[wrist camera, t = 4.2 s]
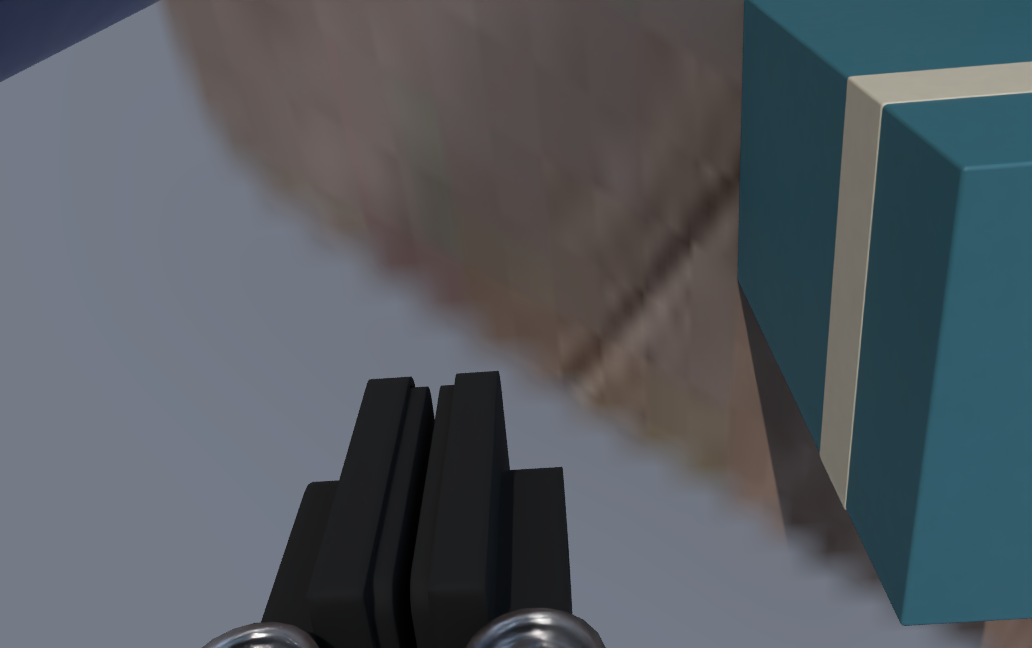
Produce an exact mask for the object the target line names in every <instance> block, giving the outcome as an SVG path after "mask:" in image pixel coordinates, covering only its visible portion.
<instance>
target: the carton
mask: <svg viewBox="0 0 1032 648" xmlns="http://www.w3.org/2000/svg"><path fill="white" fill-rule="evenodd" d="M738 281H739V283H740V285H741V288H742V290H743V292H744V294H745V296H746V298H747V300H748V302H749V304H750V307H751V309H752V311H753V313H754V315H755V317H756V319H757V321H758V323H759V326H760V328H761V330H762V332H763V334H764V336H765V338H766V340H767V342H768V344H769V347H770V349H771V351H772V353H773V355H774V357H775V359H776V361H777V363H778V366H779V368H780V370H781V372H782V374H783V376H784V378H785V380H786V382H787V385H788V387H789V389H790V391H791V393H792V395H793V397H794V399H795V401H796V404H797V406H798V408H799V410H800V412H801V414H802V416H803V418H804V420H805V423H806V425H807V427H808V429H809V431H810V433H811V435H812V437H813V439H814V442H815V444H816V446H817V448H818V450H819V452H820V458H821V460H822V463H823V465H824V467H825V469H826V471H827V473H828V475H829V477H830V479H831V482H832V484H833V486H834V488H835V490H836V492H837V494H838V496H839V499H840V501H841V503H842V505H843V507H844V509H845V510H847V511H848V513H849V515H850V518H851V520H852V522H853V524H854V526H855V528H856V530H857V532H858V534H859V537H860V539H861V541H862V543H863V545H864V547H865V549H866V551H867V553H868V556H869V558H870V560H871V562H872V564H873V566H874V568H875V570H876V572H877V575H878V577H879V579H880V581H881V583H882V585H883V587H884V589H885V591H886V594H887V596H888V598H889V600H890V602H891V604H892V606H893V608H894V610H895V613H896V615H897V617H898V619H899V621H900V623H901V624H902V625H904V626H909V625H926V624H943V623H960V622H977V621H994V620H1011V619H1028V618H1032V0H744V32H743V73H742V114H741V155H740V197H739V238H738Z"/></svg>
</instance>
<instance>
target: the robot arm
mask: <svg viewBox="0 0 1032 648" xmlns="http://www.w3.org/2000/svg"><path fill="white" fill-rule="evenodd" d="M564 493H565V492H564V480H563V468H562V467H555V468H539V469H521V470H510V467H509V458H508V448H507V439H506V429H505V420H504V410H503V400H502V391H501V382H500V375H499V371H490V372H475V373H460V374H456V378H455V385H445V386H441V387H440V391H439V398H438V404H437V411H436V417H435V419H434V413H433V405H432V398H431V393H430V389H429V387H415V384H414V381H413V378H412V377H400V378H384V379H371V380H369V381H368V383H367V386H366V389H365V393H364V396H363V400H362V403H361V407H360V410H359V414H358V417H357V421H356V424H355V427H354V431H353V435H352V438H351V442H350V445H349V449H348V452H347V455H346V459H345V462H344V466H343V469H342V473H341V476H340V480H339V481H324V482H312V483H310V484H309V485H308V486H307V488H306V490H305V492H304V495H303V498H302V501H301V504H300V508H299V510H298V513H297V516H296V519H295V523H294V525H293V528H292V531H291V534H290V537H289V540H288V543H287V546H286V549H285V552H284V555H283V558H282V561H281V564H280V567H279V570H278V573H277V576H276V579H275V582H274V585H273V588H272V591H271V594H270V597H269V600H268V603H267V606H266V609H265V612H264V615H263V618H262V621H261V623H253V624H250V625H246V626H242V627H239V628H235V629H232V630H230V631H228V632H226V633H224V634H222V635H221V636H219V637H216V638H214V639H213V640H211V641H210V642H209V643H207V644H206V645H205V646H204V647H203V648H605V646H604V644H603V642H602V640H601V638H600V636H599V634H598V632H597V631H595V630H594V629H593V628H592V627H591V626H590V625H589V624H587V622H585V621H584V620H583V619H580V618H579V617H576V616H574V615H572V601H571V600H572V599H571V583H570V582H571V581H570V566H569V565H570V564H569V549H568V534H567V520H566V506H565V494H564Z"/></svg>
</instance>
